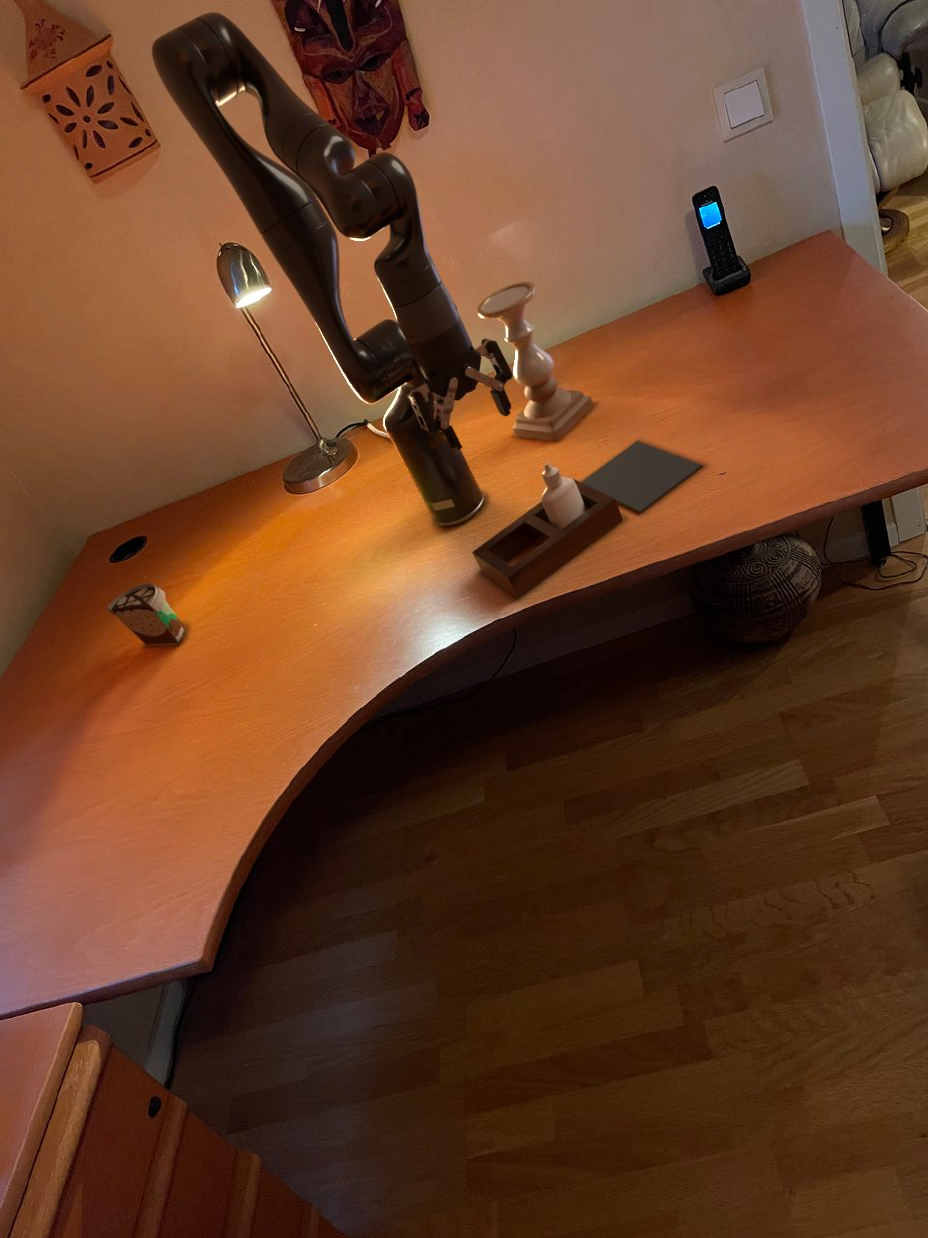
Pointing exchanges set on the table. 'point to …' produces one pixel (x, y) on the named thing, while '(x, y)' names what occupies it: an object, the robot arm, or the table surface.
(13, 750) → the table surface
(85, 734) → the table surface
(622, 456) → the mat
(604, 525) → the rack
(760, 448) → the table surface
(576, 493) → the eye dropper bottle
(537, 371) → the candle holder
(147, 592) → the food container
